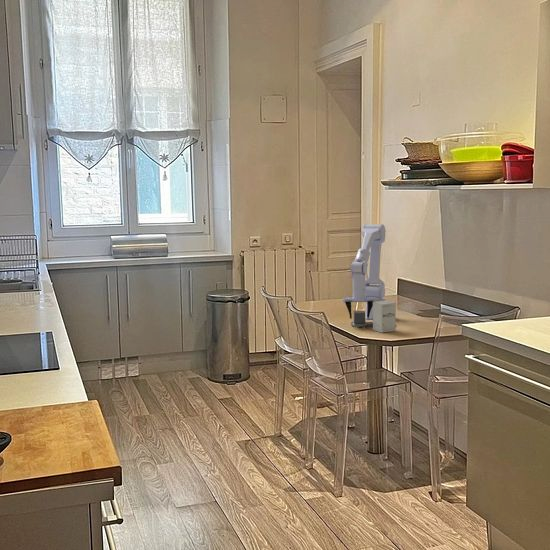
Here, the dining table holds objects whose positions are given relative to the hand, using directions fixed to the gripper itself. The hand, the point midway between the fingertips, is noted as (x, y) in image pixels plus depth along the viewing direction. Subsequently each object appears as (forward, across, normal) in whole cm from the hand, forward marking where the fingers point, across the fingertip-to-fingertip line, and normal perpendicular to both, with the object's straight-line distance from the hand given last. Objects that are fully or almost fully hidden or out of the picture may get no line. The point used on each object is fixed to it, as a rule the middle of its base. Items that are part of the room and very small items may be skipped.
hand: (359, 318), depth 315 cm
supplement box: (+4, +10, -10) cm, 15 cm away
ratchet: (+4, +6, 0) cm, 7 cm away
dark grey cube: (+2, 0, 0) cm, 2 cm away
